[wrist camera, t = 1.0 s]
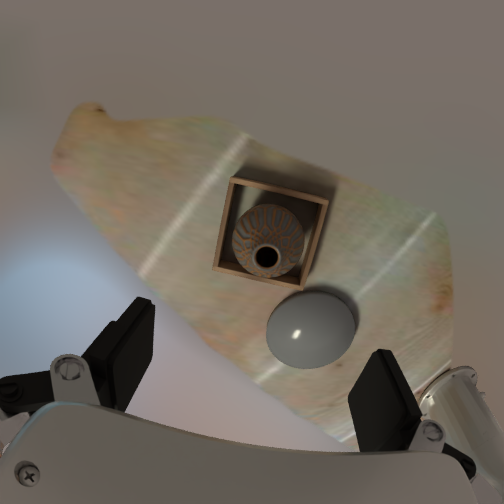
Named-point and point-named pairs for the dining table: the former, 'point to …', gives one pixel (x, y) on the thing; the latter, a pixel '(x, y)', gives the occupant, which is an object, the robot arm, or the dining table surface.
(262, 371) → the dining table surface
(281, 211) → the vase
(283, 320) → the plate
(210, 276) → the dining table surface
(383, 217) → the dining table surface
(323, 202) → the holder
